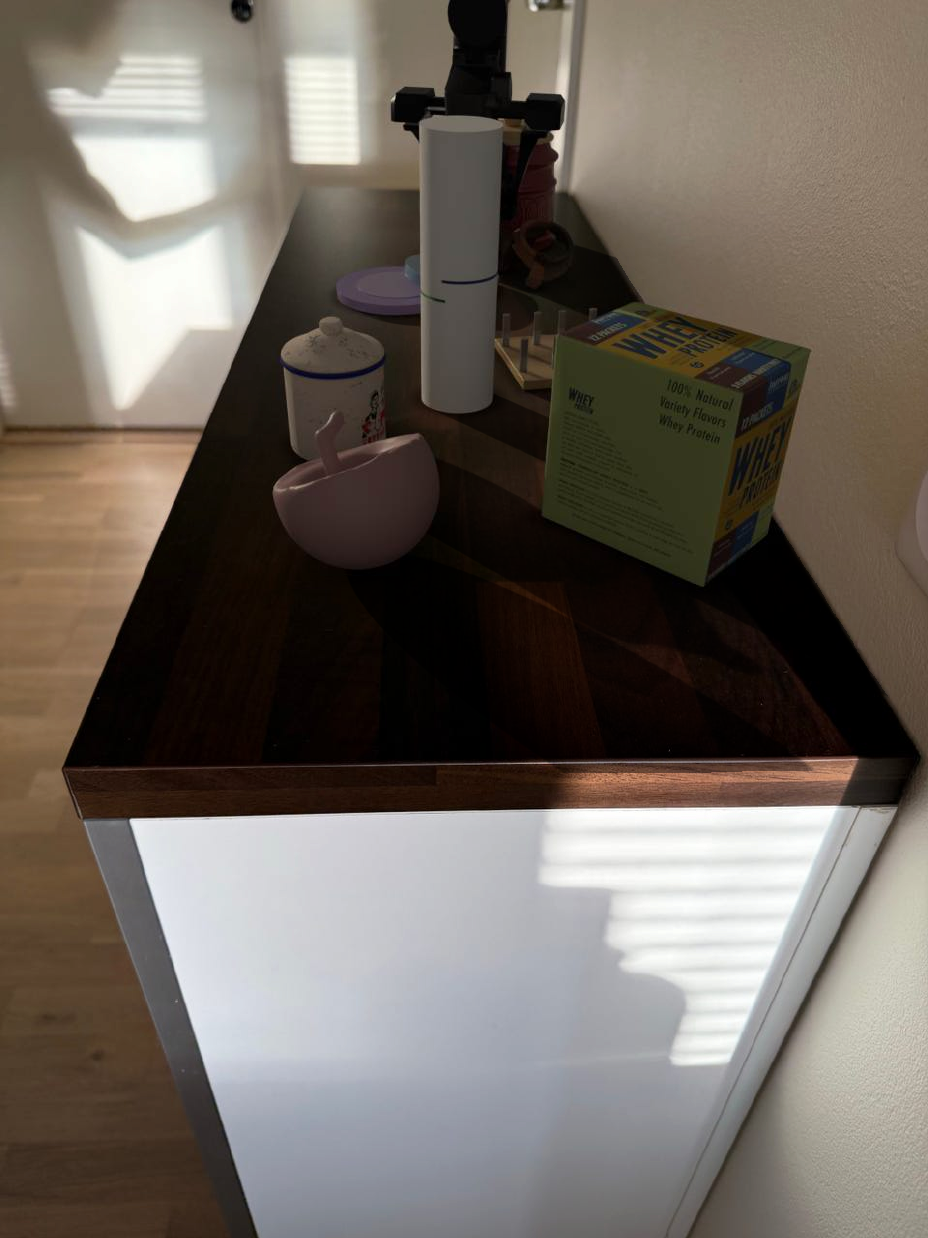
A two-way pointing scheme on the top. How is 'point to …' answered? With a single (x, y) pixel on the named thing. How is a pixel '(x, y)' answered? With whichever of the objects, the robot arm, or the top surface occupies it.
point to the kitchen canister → (531, 181)
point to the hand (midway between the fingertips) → (476, 191)
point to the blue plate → (417, 269)
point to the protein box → (669, 436)
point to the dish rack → (532, 352)
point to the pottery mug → (534, 251)
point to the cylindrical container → (459, 259)
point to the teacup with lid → (334, 387)
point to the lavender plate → (380, 291)
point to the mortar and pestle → (360, 499)
